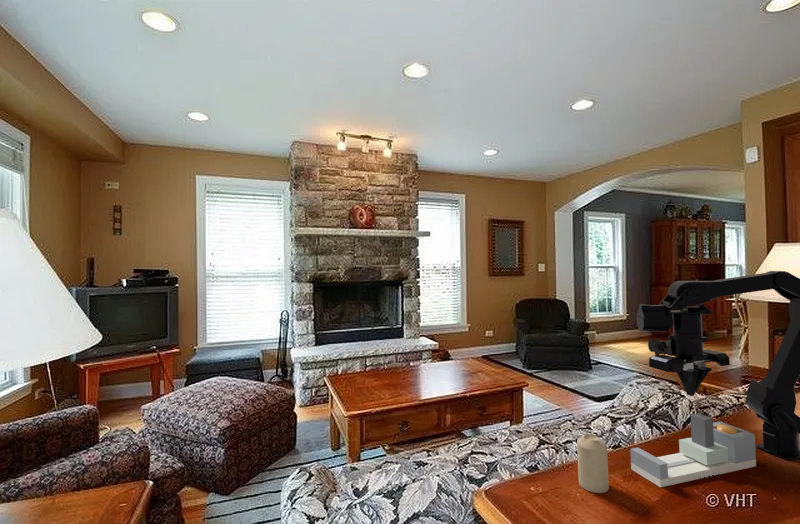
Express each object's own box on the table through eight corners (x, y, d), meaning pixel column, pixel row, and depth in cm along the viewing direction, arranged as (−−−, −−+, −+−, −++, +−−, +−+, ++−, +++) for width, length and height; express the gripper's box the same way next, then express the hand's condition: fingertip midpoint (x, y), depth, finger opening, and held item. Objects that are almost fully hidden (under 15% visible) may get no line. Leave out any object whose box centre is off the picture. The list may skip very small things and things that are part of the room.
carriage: (700, 448, 86) (698, 409, 86) (728, 461, 80) (726, 419, 80) (679, 452, 84) (677, 413, 84) (707, 465, 79) (705, 423, 79)
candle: (613, 494, 73) (610, 443, 73) (582, 492, 74) (580, 442, 74) (603, 478, 79) (601, 431, 79) (575, 476, 80) (573, 430, 80)
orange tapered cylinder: (725, 447, 86) (724, 423, 86) (741, 454, 83) (740, 429, 83) (713, 449, 85) (712, 425, 85) (730, 457, 82) (729, 431, 82)
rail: (721, 451, 88) (720, 421, 88) (756, 466, 81) (754, 433, 81) (631, 469, 82) (629, 437, 82) (660, 487, 75) (658, 452, 75)
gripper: (685, 324, 102) (687, 381, 102) (629, 329, 97) (631, 389, 97) (729, 331, 91) (732, 395, 91) (669, 337, 87) (672, 404, 86)
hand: (690, 395), depth 92 cm, fingers closed
